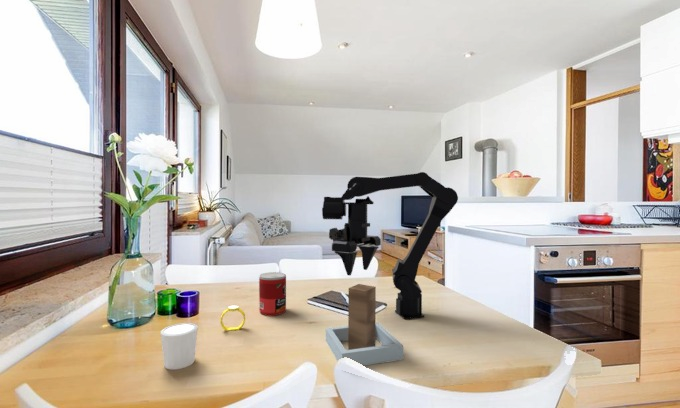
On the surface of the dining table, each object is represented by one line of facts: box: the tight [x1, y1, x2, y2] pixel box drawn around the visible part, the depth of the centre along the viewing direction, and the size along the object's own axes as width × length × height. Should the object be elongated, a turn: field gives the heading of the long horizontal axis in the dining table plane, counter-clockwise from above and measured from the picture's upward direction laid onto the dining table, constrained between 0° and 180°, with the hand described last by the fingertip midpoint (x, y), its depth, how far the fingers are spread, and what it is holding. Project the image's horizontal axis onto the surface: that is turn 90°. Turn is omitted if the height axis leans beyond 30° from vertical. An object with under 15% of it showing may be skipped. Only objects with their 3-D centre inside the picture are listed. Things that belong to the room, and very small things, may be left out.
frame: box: [325, 322, 404, 366], centre depth 73 cm, size 13×13×3 cm
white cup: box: [160, 322, 199, 370], centre depth 67 cm, size 7×7×7 cm
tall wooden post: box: [347, 283, 377, 350], centre depth 73 cm, size 4×4×14 cm
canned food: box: [258, 271, 287, 316], centre depth 98 cm, size 8×8×11 cm
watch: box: [220, 304, 246, 332], centre depth 85 cm, size 6×3×6 cm, turn 107°
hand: (357, 272), depth 97 cm, fingers open, 9 cm apart
